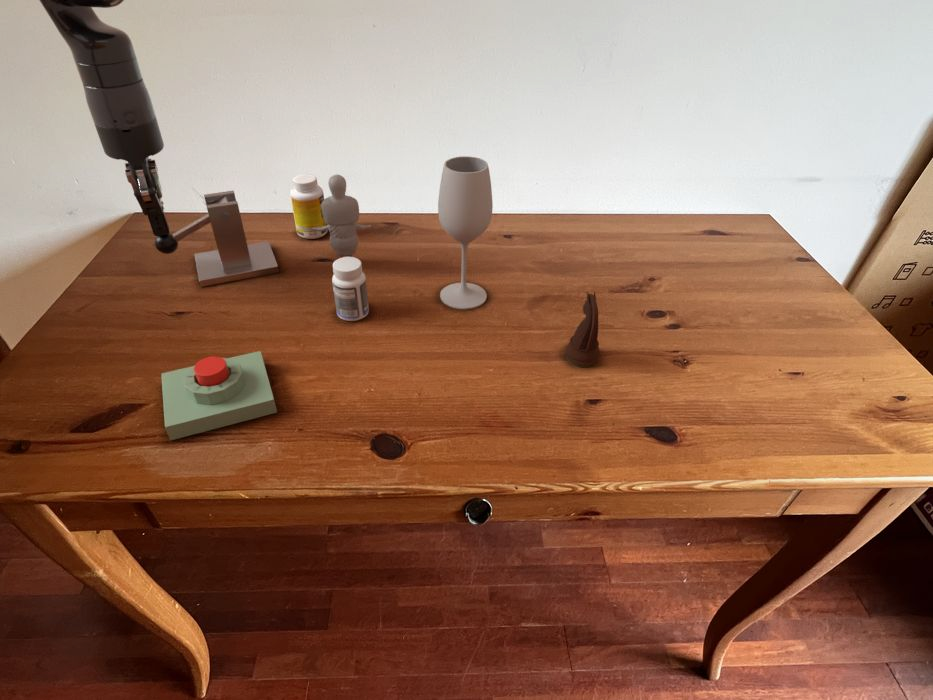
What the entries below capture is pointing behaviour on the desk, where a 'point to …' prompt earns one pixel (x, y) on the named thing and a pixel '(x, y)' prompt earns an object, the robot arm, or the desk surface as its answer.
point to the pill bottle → (350, 289)
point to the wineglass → (465, 219)
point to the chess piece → (585, 337)
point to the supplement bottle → (307, 206)
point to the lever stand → (231, 246)
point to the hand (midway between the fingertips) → (162, 233)
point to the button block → (216, 397)
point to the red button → (211, 371)
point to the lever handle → (182, 233)
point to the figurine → (341, 218)
